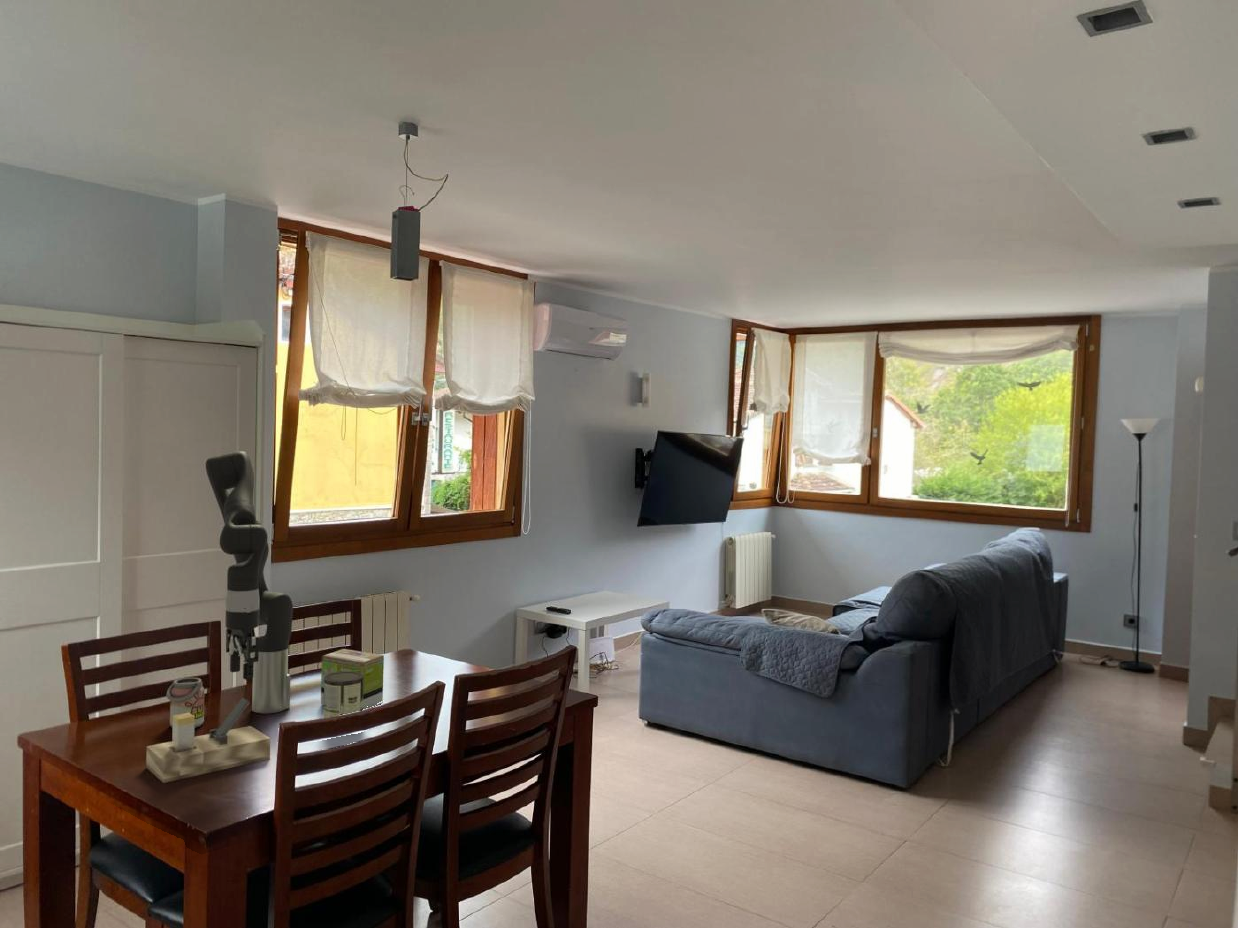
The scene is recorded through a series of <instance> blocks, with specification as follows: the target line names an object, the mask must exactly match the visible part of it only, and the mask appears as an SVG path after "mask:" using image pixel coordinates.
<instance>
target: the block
mask: <svg viewBox="0 0 1238 928" xmlns="http://www.w3.org/2000/svg"><path fill="white" fill-rule="evenodd" d="M218 729H219V728H213V729H209V733H206V734H202V735H196V736H194V749H192V750H187V751H183V752H178V753H175V752H173V751H172V741H167V742H162V743H161V742H160V743H156V744H152V745H147V746H146V759H145V762H146V765H145V767H146V769H147V770H148V771H149V772H151V774H153V775H154V776H155V777H156V778H157V779H159V781H161V782H162V783H163V784H165V783H169V782H174V781H179V780H183V779H187V778H192V777H197V776H201V775H205V774H210V773H213V772H214V773H215V772H218V771H223V770H227V769H230V768H231V769H232V768H237V767H240V766H245V765H248V764H252V763H257V762H262V761H267V760H271V738H270V737H269V736H267V735H266V734H264V733H263V732H261V731H260V730H258V729H256V728H255V727H254V726H251V725H248V726H243V727H237V728H231V729H230V730H229V731H228V733H227V734H226V735H224V736H219V741H218V740H217V739H215V738H214V737H213V736H212V734H213V733H214V732H216V731H217V730H218Z"/></svg>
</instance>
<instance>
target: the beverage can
mask: <svg viewBox="0 0 1238 928" xmlns="http://www.w3.org/2000/svg"><path fill="white" fill-rule="evenodd" d="M203 685H204V681H202V679H201V678H199V677H184V678H183V677H182V678H179V679H176V678H175V679H174V680H173V682H172V684H171V685H170V686H169V687H168V689H167V692H166V694H165V695H166V698H167V700H169V701H170V702H169V725H170V727H171V728H172V729H173V715H179V714H184V713H190V714H192V715H193V716H195V724H194V729H196V728H198V727H201V726H202V724H203V723H204V721H205V688H204V686H203Z"/></svg>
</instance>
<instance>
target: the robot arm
mask: <svg viewBox="0 0 1238 928" xmlns="http://www.w3.org/2000/svg"><path fill="white" fill-rule="evenodd" d="M205 470H206V471H205V472H206V475H207V477H208V478H207V479H208V480H209V483H210V486H211V488H212V491H213V494H214V497H215V499H216V502H217V505H218V508H219V510H220V513H221V516H222V519H223V522H224V526H223V527H222V530H221V533H220V535H219V536H220V537H219V547H220V550H222V552H224V553H225V554H227V555H233V556H234V560H235V564H232V565H229V567H228V569H227V572H226V575H227V576H226V577H227V578H226V579H227V580H226V585H227V586H226V596H225V621H224V623H225V628H226V630H225V652H226V653H227V654H228V657H229V672H231V673H237V672H240V670H241V657H242V679H244V680H251V679H252V692H251V693H252V695H251V696H252V697H251V698H252V700H251V701H252V702H251V710H252V712H254V713H257V714H274V713H279V712H282V711H285V710H287V709H290V708H291V707H290V706H291V674H289V673H288V669H289V663H288V662H289V642H290V639H291V636H292V628H293V627H292V626H293V615H294V605H293V601H292V598H291V597H290V595H288V594H287V593H283V592H276V591H270V590H269V589H268V587H267V586H268V585H267V583H266V580H265V576H264V571H265V566H266V563H267V560H268V556H269V553H270V552H269V551H270V547H269V542H268V533H267V530H266V528H265V527H264V526H263V525H262V524H261V523H260V521H258V519H257V518H256V513H255V507H254V491H255V490H254V489H255V486H254V485H255V474H254V468H253V464H252V461H251V459H250V457H249V455H248V453H246V451H241V450H239V451H234V452H229V453H225V454H221V455H215V456H213V457H209V458H208V459H206V462H205ZM230 489H232V490H231V492H230V493H229V492H228V490H230ZM260 624H261V625H266V629H265V630H266V631H265V634H264V635H261V636H254V635H253V629H255V628H258V627H259V625H260Z"/></svg>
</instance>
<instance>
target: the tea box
mask: <svg viewBox="0 0 1238 928" xmlns="http://www.w3.org/2000/svg"><path fill="white" fill-rule="evenodd" d="M384 656H385V655H383V654H379V653H378V654H377V653H371V652H364V651H359V650H353V649H346V648H341V649H338V650H336V651H334V652H330V653H327V654H324V655H321V674H320V675H321V676H320V677H321V678H320V679H321V680H320V681H321V682H320V704H321V705H323V706H324V677H325V676H326V675H328V674H331V673H336V672H358V673H362V674H363V675H364V679H363V709H366V708H370V707H372V706H375V705H377V703H379V702H381V701H382V702H383V700H384V698H383V697H384V695H383V694H384V670H385V669H384V668H385V667H384V665H385V664H384V663H385V662H384V661H385V657H384ZM367 706H368V707H367ZM375 707H376V706H375Z"/></svg>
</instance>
